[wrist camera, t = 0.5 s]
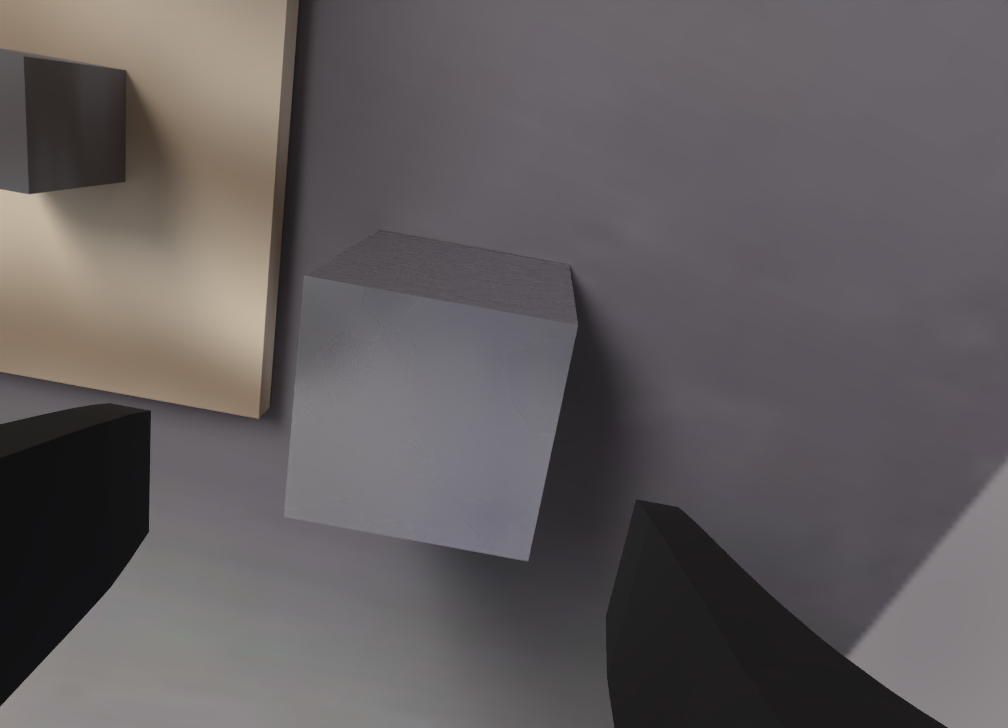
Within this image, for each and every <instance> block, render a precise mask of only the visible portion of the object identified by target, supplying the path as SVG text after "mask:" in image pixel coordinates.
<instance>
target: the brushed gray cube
mask: <svg viewBox="0 0 1008 728" xmlns="http://www.w3.org/2000/svg"><path fill="white" fill-rule="evenodd" d="M577 328H578V320H577V314H576V307H575V300H574V293H573V287H572V280H571V273H570V266H569V265H567V264H562V263H556V262H551V261H545V260H540V259H534V258H529V257H523V256H518V255H512V254H506V253H501V252H495V251H490V250H484V249H479V248H473V247H468V246H462V245H457V244H451V243H446V242H440V241H435V240H429V239H424V238H418V237H413V236H407V235H402V234H396V233H391V232H385V231H380V230H378V231H377V232H375V233H374V234H372V235H370V236H369V237H367V238H365V239H364V240H362V241H360V242H359V243H357V244H355V245H354V246H352V247H350V248H349V249H347V250H345V251H344V252H342V253H340V254H339V255H337V256H335V257H334V258H332V259H330V260H329V261H327V262H325V263H324V264H322V265H320V266H319V267H317V268H315V269H314V270H312V271H310V272H309V273H307V274H305V275H304V282H303V294H302V306H301V318H300V330H299V342H298V354H297V366H296V378H295V390H294V401H293V413H292V425H291V437H290V449H289V461H288V473H287V485H286V497H285V509H284V517H288V518H293V519H299V520H304V521H309V522H315V523H320V524H326V525H331V526H337V527H342V528H348V529H353V530H359V531H364V532H370V533H375V534H381V535H386V536H392V537H397V538H403V539H408V540H414V541H419V542H425V543H430V544H435V545H441V546H446V547H452V548H457V549H463V550H468V551H474V552H479V553H485V554H490V555H496V556H501V557H507V558H512V559H518V560H523V561H528V560H529V555H530V550H531V546H532V541H533V536H534V532H535V527H536V522H537V517H538V513H539V508H540V503H541V498H542V494H543V489H544V484H545V480H546V475H547V470H548V465H549V461H550V456H551V451H552V446H553V442H554V437H555V432H556V428H557V423H558V418H559V413H560V409H561V404H562V399H563V394H564V390H565V385H566V380H567V376H568V371H569V366H570V361H571V357H572V352H573V347H574V342H575V338H576V333H577Z"/></svg>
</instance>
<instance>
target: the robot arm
mask: <svg viewBox="0 0 1008 728" xmlns="http://www.w3.org/2000/svg"><path fill="white" fill-rule="evenodd" d="M150 426H151V411H149V410H143V409H138V408H132V407H127V406H121V405H116V404H111V403H109V404H98V405H90V406H84V407H78V408H72V409H67V410H62V411H58V412H53V413H48V414H44V415H39V416H35V417H30V418H26V419H22V420H17V421H13V422H9V423H4V424H0V706H1V705H2V704H3V703H4V702H5V701H6V700H7V698H8V697H9V696H10V695H11V694H12V693H13V692H14V691H15V690H16V689H17V688H18V687H19V686H20V685H21V684H22V682H23V681H24V680H25V679H26V678H27V677H28V676H29V675H30V674H31V673H32V672H33V671H34V670H35V669H36V668H37V666H38V665H39V664H40V663H41V662H42V661H43V660H44V659H45V658H46V657H47V656H48V655H49V654H50V653H51V652H52V650H53V649H54V648H55V647H56V646H57V645H58V644H59V643H60V642H61V641H62V640H63V639H64V638H65V637H66V636H67V634H68V633H69V632H70V631H71V630H72V629H73V628H74V627H75V626H76V625H77V624H78V623H79V621H80V620H81V619H82V618H83V617H84V616H85V615H86V614H87V613H88V612H89V611H90V609H91V608H92V607H93V606H94V605H95V604H96V603H97V602H98V601H99V600H100V598H101V597H102V596H103V595H104V594H105V593H106V592H107V591H108V589H109V588H110V587H111V586H112V584H113V583H114V582H115V580H116V579H117V578H118V576H119V575H120V573H121V572H122V571H123V569H124V568H125V567H126V565H127V564H128V562H129V561H130V559H131V558H132V556H133V555H134V553H135V552H136V550H137V549H138V547H139V546H140V544H141V543H142V541H143V540H144V538H145V537H146V535H147V534H148V532H149V485H150ZM606 650H607V679H608V687H609V694H610V701H611V707H612V714H613V721H614V727H615V728H947V727H946V726H944V725H943V724H941V723H940V722H938V721H936V720H935V719H933V718H932V717H930V716H928V715H927V714H925V713H923V712H922V711H920V710H919V709H917V708H916V707H914V706H913V705H911V704H910V703H908V702H907V701H905V700H904V699H902V698H901V697H900V696H898V695H896V694H895V693H894V692H892V691H891V690H889V689H888V688H886V687H885V686H884V685H882V684H881V683H879V682H878V681H877V680H875V679H874V678H873V677H871V676H870V675H868V674H867V673H866V672H865V671H863V670H861V669H860V668H859V667H858V666H856V665H855V664H854V663H852V662H851V661H850V660H848V659H847V658H845V657H844V656H843V655H841V654H840V653H839V652H837V651H836V650H835V649H834V648H832V647H831V646H830V645H829V644H827V643H826V642H825V641H824V640H822V639H821V638H820V637H819V636H817V635H816V634H815V633H814V632H813V631H811V630H810V629H809V628H808V627H807V626H806V625H804V624H803V623H802V622H801V621H800V620H799V619H797V618H796V617H795V616H794V615H793V614H792V613H790V612H789V611H788V610H787V609H786V608H785V607H783V606H782V605H781V604H780V603H779V602H778V601H777V600H776V599H774V598H773V597H772V596H771V595H770V594H769V593H768V592H767V591H766V590H765V589H764V588H762V587H761V586H760V585H759V584H758V583H757V582H756V581H755V580H754V579H753V578H752V577H751V576H750V575H749V574H748V573H747V572H746V571H745V570H743V569H742V568H741V567H740V566H739V565H738V564H737V563H736V562H735V561H734V560H733V559H732V558H731V557H730V556H729V555H728V554H727V553H726V552H725V551H724V550H723V549H722V548H721V547H720V546H719V545H718V544H717V543H716V542H715V541H714V540H713V539H712V538H711V537H710V536H709V535H708V534H707V533H706V532H705V531H704V530H703V529H702V528H701V527H700V526H699V525H698V524H697V523H696V522H694V521H693V520H692V519H691V518H690V517H689V516H688V515H687V514H686V513H685V512H683V511H682V510H681V509H679V508H678V507H674V506H669V505H663V504H658V503H652V502H647V501H641V500H636V503H635V507H634V511H633V514H632V518H631V522H630V526H629V530H628V534H627V537H626V541H625V545H624V549H623V553H622V557H621V561H620V564H619V568H618V572H617V576H616V580H615V584H614V588H613V591H612V595H611V599H610V603H609V607H608V611H607V615H606Z"/></svg>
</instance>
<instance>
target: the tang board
mask: <svg viewBox="0 0 1008 728" xmlns="http://www.w3.org/2000/svg"><path fill="white" fill-rule="evenodd" d="M298 7H299V0H0V372H5V373H10V374H16V375H21V376H27V377H32V378H38V379H43V380H49V381H54V382H60V383H65V384H71V385H76V386H82V387H87V388H93V389H98V390H104V391H109V392H115V393H120V394H126V395H131V396H137V397H142V398H148V399H153V400H159V401H164V402H170V403H175V404H181V405H186V406H192V407H197V408H202V409H208V410H213V411H219V412H224V413H230V414H235V415H241V416H246V417H252V418H257V419H259V418H260V417H261V416H262V415H263V414H264V413H265V412H266V411H267V410H268V409H269V406H270V392H271V379H272V365H273V351H274V337H275V324H276V310H277V296H278V282H279V268H280V255H281V241H282V227H283V213H284V200H285V186H286V172H287V158H288V145H289V131H290V117H291V103H292V90H293V76H294V62H295V48H296V34H297V21H298Z"/></svg>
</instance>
